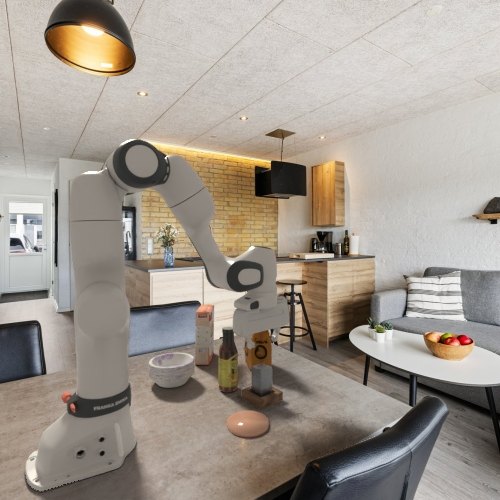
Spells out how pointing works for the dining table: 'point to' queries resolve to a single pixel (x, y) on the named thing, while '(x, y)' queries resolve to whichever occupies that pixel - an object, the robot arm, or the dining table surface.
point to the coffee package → (259, 350)
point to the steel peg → (261, 379)
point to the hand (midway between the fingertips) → (262, 344)
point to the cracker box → (204, 335)
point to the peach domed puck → (247, 423)
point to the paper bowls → (171, 369)
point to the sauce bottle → (228, 362)
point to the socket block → (261, 401)
